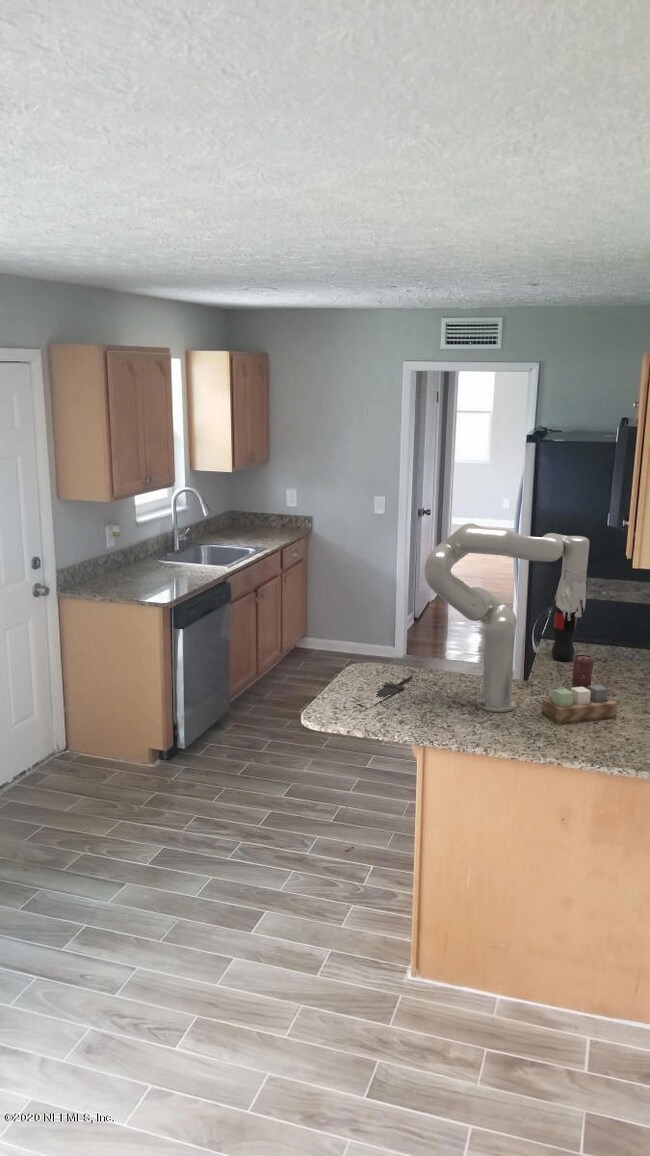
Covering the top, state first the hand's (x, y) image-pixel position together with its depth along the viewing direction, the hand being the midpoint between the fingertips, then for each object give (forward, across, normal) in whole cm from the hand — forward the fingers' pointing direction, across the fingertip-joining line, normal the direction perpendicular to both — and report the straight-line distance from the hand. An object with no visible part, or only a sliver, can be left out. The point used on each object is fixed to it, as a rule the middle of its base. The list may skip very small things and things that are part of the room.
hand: (568, 631), depth 280 cm
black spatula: (+29, -32, -48) cm, 65 cm away
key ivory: (+25, +4, +4) cm, 26 cm away
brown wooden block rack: (+27, +4, +4) cm, 28 cm away
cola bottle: (+28, -51, +31) cm, 66 cm away
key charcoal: (+25, +4, +10) cm, 27 cm away
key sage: (+25, +5, -3) cm, 26 cm away
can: (+27, -12, +15) cm, 34 cm away
